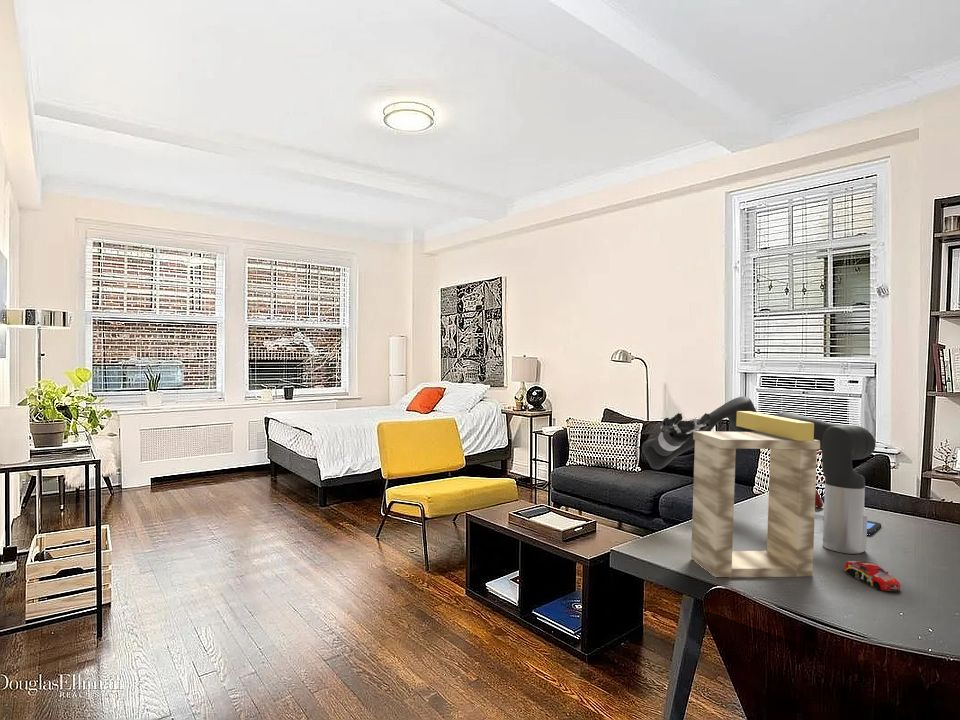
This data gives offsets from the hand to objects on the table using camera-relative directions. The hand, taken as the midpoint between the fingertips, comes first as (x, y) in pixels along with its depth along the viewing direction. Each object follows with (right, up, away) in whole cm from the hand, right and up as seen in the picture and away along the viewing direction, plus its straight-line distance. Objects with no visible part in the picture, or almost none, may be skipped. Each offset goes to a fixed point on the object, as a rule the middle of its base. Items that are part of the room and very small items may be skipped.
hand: (694, 415), depth 180 cm
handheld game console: (+49, -35, +4) cm, 60 cm away
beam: (+8, -1, -31) cm, 32 cm away
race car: (+26, -35, -42) cm, 60 cm away
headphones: (+54, -34, +24) cm, 68 cm away
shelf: (+1, -34, -35) cm, 48 cm away
